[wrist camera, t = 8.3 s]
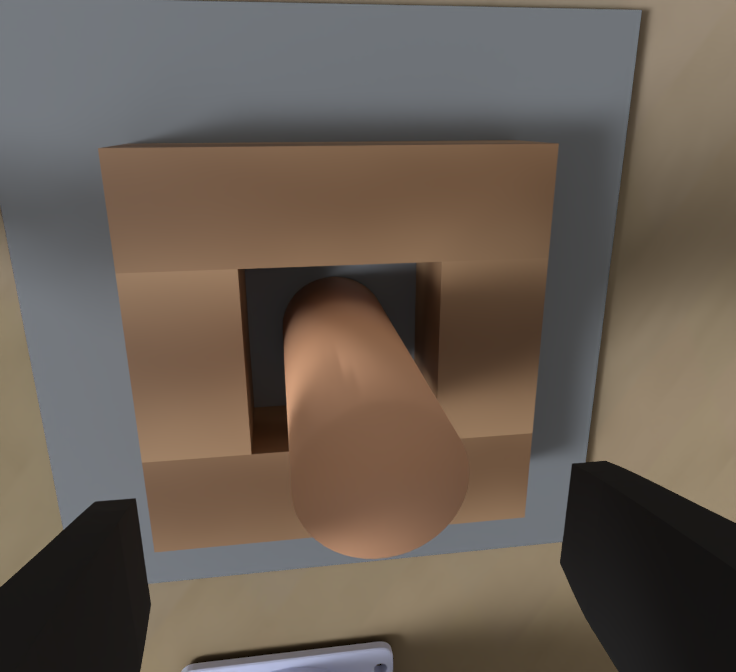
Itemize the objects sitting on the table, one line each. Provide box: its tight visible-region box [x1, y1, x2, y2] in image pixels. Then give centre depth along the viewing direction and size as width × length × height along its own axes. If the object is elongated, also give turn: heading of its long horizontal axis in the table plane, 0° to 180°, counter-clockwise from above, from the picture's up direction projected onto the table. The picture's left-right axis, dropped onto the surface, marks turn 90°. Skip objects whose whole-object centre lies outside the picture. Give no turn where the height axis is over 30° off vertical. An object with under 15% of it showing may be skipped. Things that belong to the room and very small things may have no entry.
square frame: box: [98, 140, 559, 552], centre depth 18 cm, size 11×11×3 cm
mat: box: [0, 0, 642, 584], centre depth 20 cm, size 18×18×1 cm
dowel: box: [282, 277, 469, 559], centre depth 15 cm, size 3×3×9 cm
